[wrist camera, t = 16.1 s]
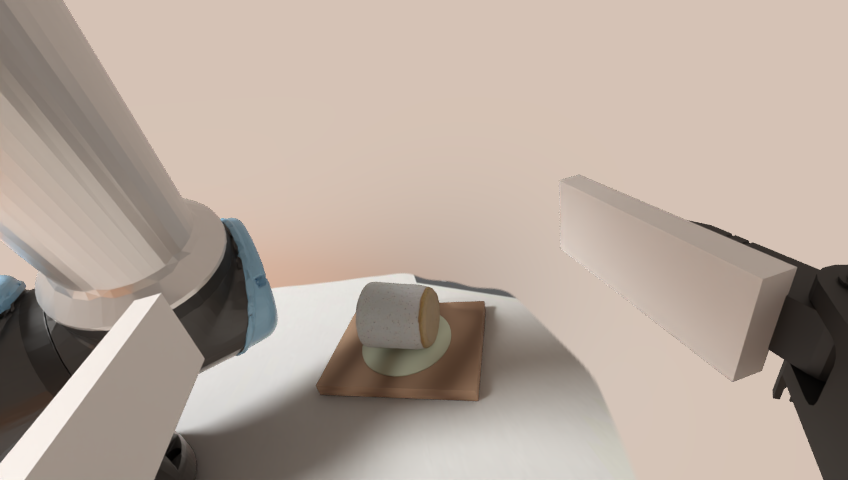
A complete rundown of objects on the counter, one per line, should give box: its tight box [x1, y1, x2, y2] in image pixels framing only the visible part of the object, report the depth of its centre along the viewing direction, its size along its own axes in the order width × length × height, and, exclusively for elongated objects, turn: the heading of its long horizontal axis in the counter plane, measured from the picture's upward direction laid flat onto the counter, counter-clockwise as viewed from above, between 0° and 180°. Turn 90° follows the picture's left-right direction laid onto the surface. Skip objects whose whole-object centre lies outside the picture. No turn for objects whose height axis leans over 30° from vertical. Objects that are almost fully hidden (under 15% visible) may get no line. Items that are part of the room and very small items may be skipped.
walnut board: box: [316, 301, 486, 401], centre depth 44 cm, size 18×14×2 cm
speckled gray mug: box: [356, 282, 440, 350], centre depth 44 cm, size 11×8×8 cm
